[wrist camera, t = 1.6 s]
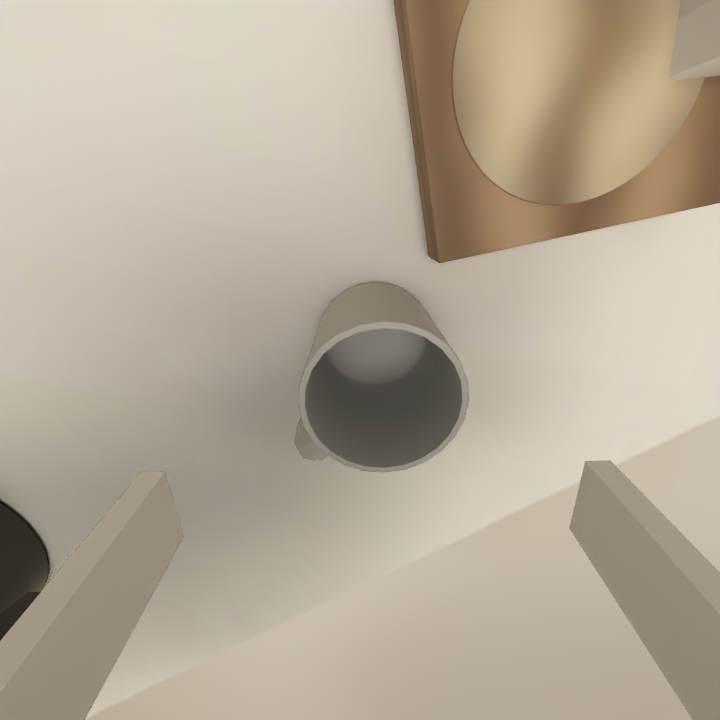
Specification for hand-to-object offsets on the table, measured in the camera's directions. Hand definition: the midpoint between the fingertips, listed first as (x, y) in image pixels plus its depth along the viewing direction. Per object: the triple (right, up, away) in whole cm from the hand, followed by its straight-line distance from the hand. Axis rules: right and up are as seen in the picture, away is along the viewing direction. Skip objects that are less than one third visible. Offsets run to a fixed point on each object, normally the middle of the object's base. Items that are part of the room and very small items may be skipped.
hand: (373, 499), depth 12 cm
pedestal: (+9, +18, +7) cm, 22 cm away
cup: (0, +5, +13) cm, 14 cm away
